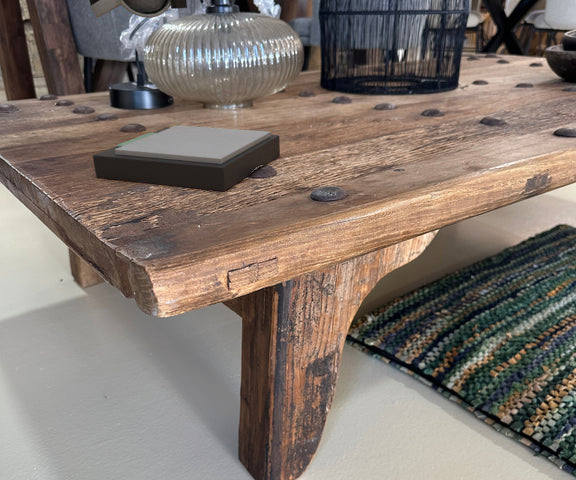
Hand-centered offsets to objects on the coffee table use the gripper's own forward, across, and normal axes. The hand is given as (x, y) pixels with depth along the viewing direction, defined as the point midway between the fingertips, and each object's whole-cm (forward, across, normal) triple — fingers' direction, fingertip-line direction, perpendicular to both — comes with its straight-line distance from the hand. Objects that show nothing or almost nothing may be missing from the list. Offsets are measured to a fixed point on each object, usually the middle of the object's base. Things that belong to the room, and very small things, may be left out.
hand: (138, 9), depth 74 cm
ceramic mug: (+1, 0, 0) cm, 1 cm away
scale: (+16, +13, -13) cm, 25 cm away
